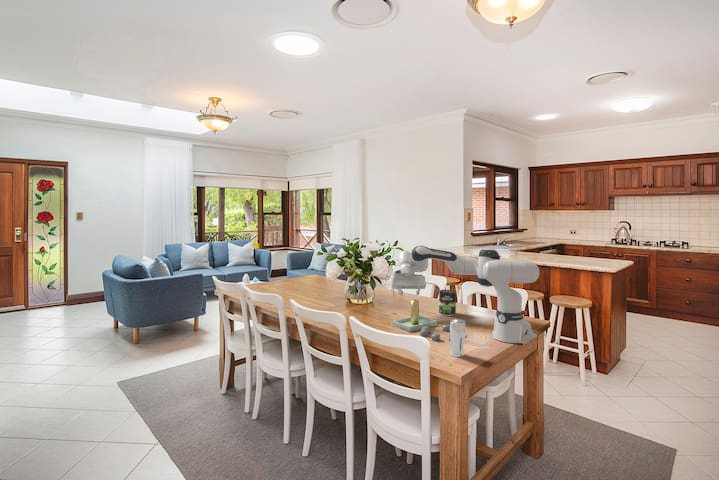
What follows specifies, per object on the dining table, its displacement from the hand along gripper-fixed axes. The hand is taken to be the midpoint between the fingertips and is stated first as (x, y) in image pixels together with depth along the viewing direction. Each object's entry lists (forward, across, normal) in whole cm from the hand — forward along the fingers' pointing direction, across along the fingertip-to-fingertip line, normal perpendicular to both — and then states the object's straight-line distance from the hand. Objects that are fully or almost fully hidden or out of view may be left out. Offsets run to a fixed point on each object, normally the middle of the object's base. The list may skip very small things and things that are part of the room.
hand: (409, 294), depth 219 cm
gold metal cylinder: (+17, -1, -3) cm, 18 cm away
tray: (+18, -1, -4) cm, 18 cm away
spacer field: (+30, -11, +8) cm, 33 cm away
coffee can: (+2, -26, -18) cm, 32 cm away
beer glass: (+49, -11, +26) cm, 56 cm away
